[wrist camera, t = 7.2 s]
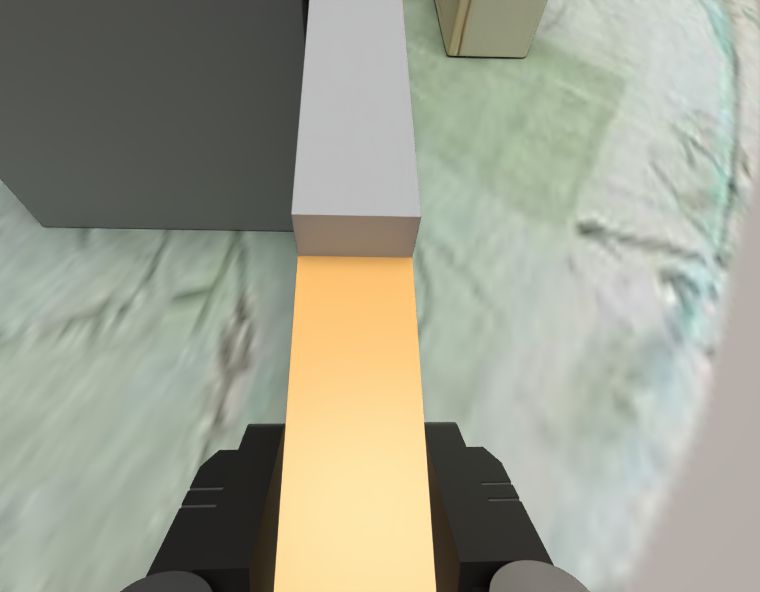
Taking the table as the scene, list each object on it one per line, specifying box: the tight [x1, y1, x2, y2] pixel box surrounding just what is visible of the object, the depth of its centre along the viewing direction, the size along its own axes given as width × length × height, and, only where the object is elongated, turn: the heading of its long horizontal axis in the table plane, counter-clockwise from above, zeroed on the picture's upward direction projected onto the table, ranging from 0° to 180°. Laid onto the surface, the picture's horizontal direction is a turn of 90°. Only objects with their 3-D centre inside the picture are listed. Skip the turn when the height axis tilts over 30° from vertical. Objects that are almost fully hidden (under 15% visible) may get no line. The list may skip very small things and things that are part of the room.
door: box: [274, 0, 436, 592], centre depth 10 cm, size 2×17×9 cm, turn 2°
